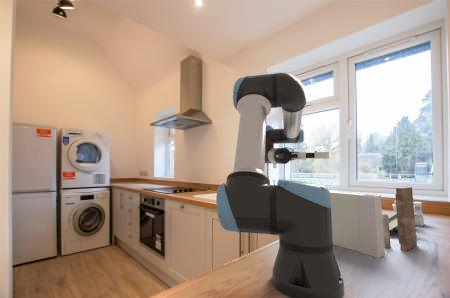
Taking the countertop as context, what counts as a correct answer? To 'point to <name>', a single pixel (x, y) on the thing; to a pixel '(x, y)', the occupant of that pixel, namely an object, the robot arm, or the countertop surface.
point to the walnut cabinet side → (402, 220)
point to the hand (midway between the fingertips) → (317, 155)
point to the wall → (393, 221)
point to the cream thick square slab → (358, 222)
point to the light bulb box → (418, 213)
